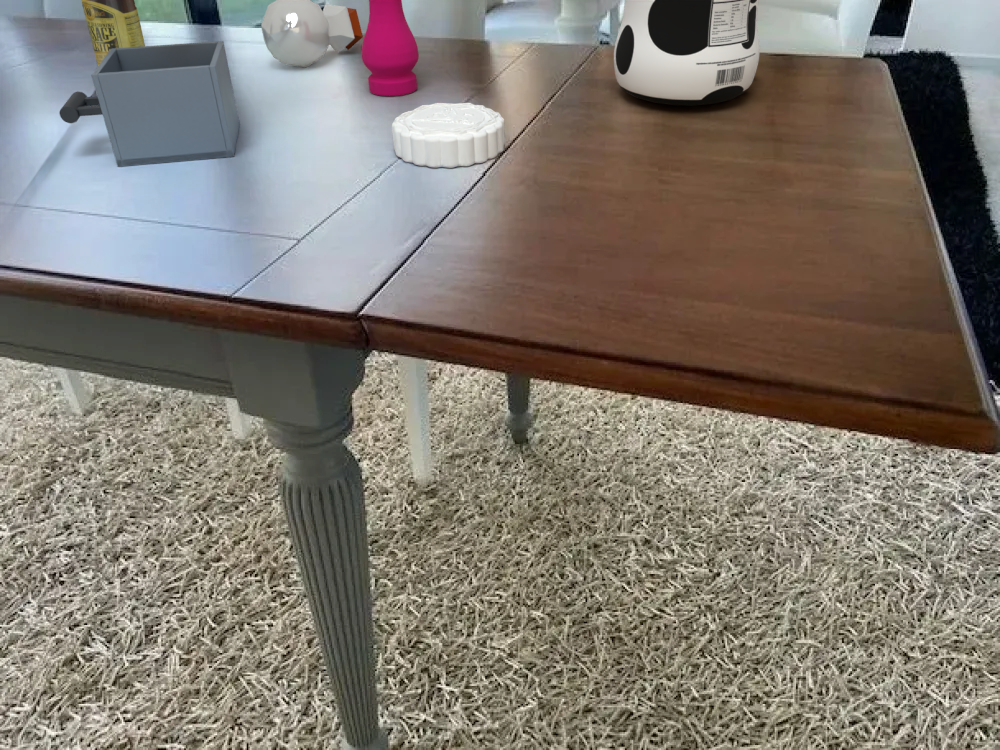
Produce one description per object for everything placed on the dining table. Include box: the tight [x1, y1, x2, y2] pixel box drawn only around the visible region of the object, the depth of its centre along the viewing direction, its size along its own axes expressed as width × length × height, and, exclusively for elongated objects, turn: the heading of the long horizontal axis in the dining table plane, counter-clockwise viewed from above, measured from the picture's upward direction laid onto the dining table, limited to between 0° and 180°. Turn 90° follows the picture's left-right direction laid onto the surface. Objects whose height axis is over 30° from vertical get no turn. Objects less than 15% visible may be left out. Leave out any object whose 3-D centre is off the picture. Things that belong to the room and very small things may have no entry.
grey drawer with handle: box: [59, 40, 241, 168], centre depth 92 cm, size 17×11×10 cm, turn 101°
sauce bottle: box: [80, 0, 146, 67], centre depth 107 cm, size 7×6×20 cm
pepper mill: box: [361, 0, 420, 97], centre depth 106 cm, size 7×7×20 cm
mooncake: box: [391, 102, 506, 169], centre depth 91 cm, size 12×12×4 cm
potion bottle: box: [260, 0, 364, 68], centre depth 122 cm, size 9×10×15 cm
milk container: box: [613, 0, 761, 107], centre depth 101 cm, size 17×17×18 cm
